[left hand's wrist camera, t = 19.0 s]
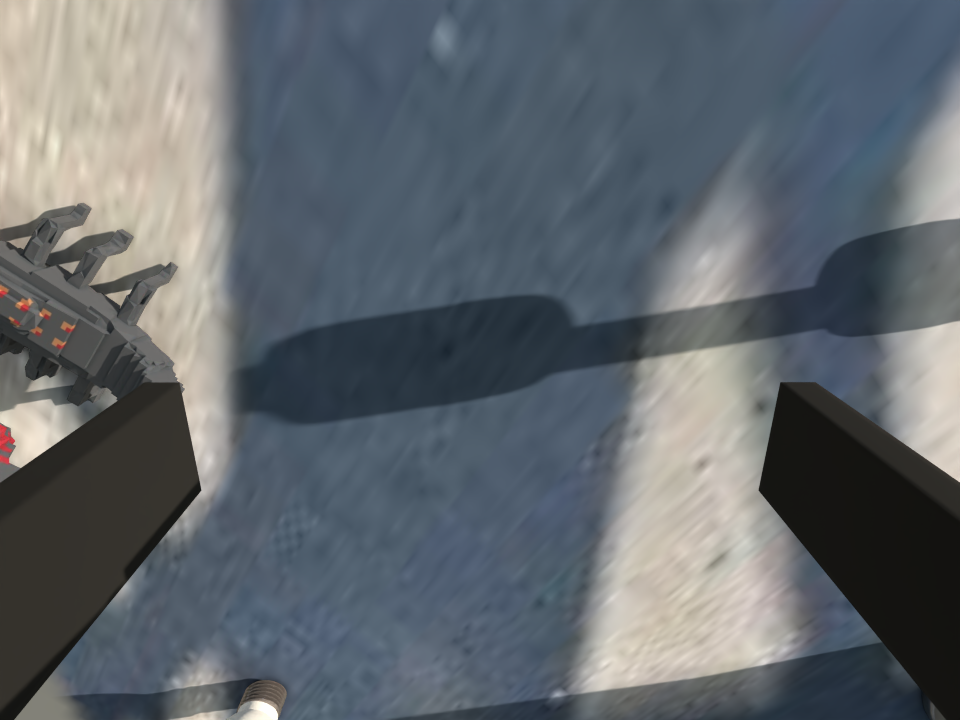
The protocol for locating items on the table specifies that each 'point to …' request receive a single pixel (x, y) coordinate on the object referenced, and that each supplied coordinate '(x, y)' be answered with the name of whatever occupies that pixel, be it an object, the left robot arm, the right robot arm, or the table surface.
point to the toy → (75, 320)
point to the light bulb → (261, 701)
